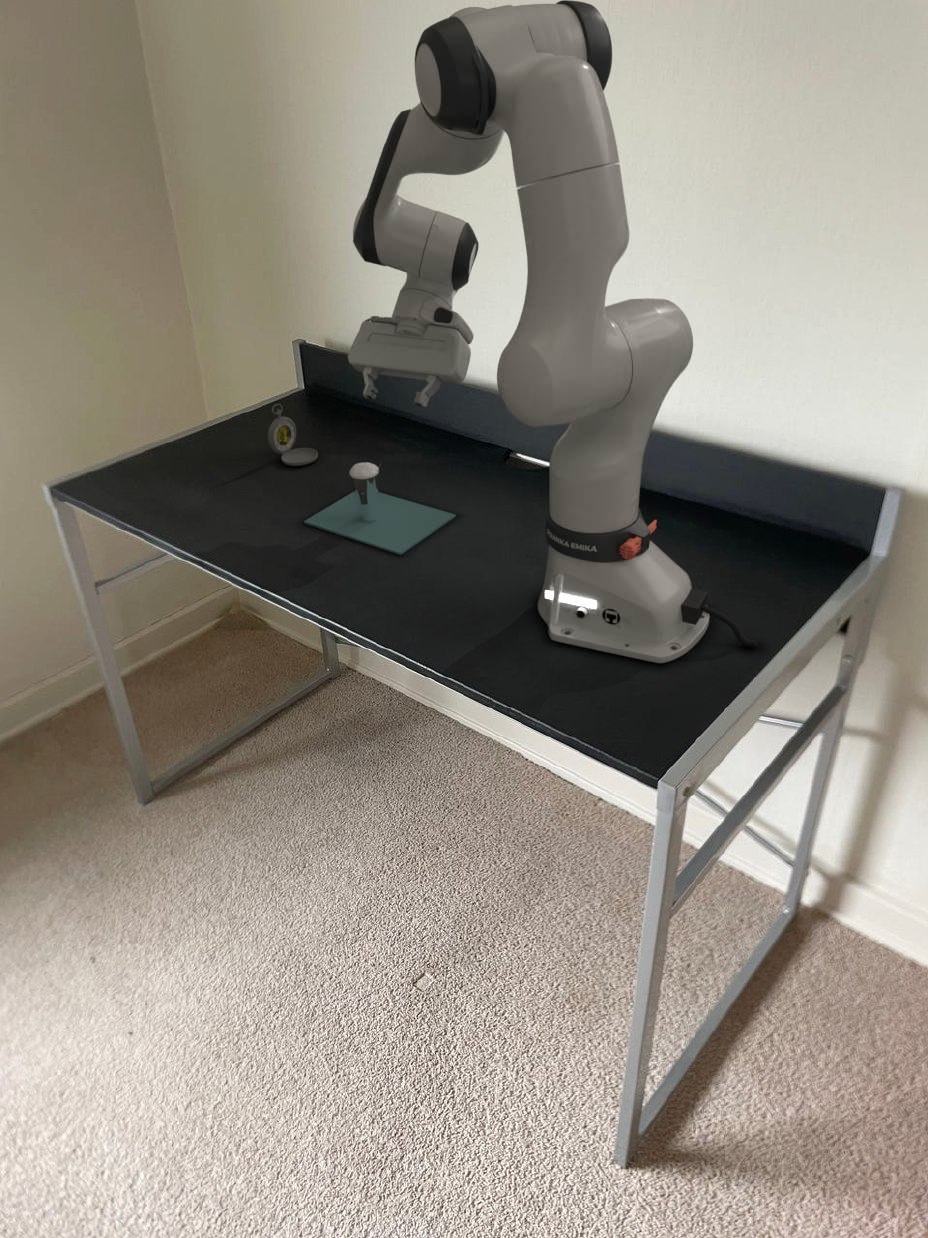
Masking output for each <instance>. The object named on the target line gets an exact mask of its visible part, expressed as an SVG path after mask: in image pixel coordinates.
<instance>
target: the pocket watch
mask: <svg viewBox="0 0 928 1238" xmlns="http://www.w3.org/2000/svg"><path fill="white" fill-rule="evenodd" d="M276 406H279V407H280V409H279V408H277V409H276V412H275V411H274V409H275V407H276ZM283 409H284V408H283V405H282V404H280V403H276V404H274V405H273V406H272V407H271V413H273V414H274V415H276V416H277V417H276V418H275V419H274V420H273V421H272V422H271V424H270V426H269V428H268V432H267V442H268V445H269V447H270V448H271V450H272V451H273V452H275V453H277V454H280V455H281V456H280V457H281V462H282V463H283V464H284V465H287V466H290V467H299V466H301V467H302V466H306V465H309V464H311V463H314V462H315V461H316V460H317V459H319V458H318V457H319V453H318V451H317V450H316V449H315V448H311V447H299V448H297V447H296V448H293V447H294V445H295V443H296V439H297V427H296V423H295V422H294V421H293V419H291V418H290V417H288V416H282V413H283ZM281 442H282V443H281ZM292 448H293V449H292Z"/></svg>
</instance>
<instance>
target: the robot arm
mask: <svg viewBox="0 0 928 1238" xmlns="http://www.w3.org/2000/svg"><path fill="white" fill-rule="evenodd" d="M612 64H613V43H612V38H611V34H610V30H609V27H608V25H607V23H606V21H605V19H604V18H603V15H602V14H601V12H600V10H598V9H597V8H596V6H594V5H593V4H591V3H588V2H585V1H584V2H583V1H579V0H560V1H557V2H555V3H532V4H531V3H530V4H520V5H512V4H505V5H500V6H496V7H495V6H494V7H491V8H486V7H481V6H468V7H465V8H464V7H463V8H462V9H461V8H460V9H459V10H457V11H455V12H453V13H452V14H451V15H450V16H449V17H446V18H444V19H442V20H439V21H436V22H435V23H433V24H431V25H430V26H428V27H426V28H425V29H424V30H423V32H421V35H420V36H419V40H418V43H417V45H416V48H415V53H414V77H415V78H414V79H415V85H416V90H417V94H418V97H419V100H420V101H419V103H418V104H417V105H416V106H413V108H409V109H406V110H402V111H400V112H399V114H398V115H397V116H396V117H395V119H394V121H393V123H392V124H391V127H390V130H389V132H388V134H387V137H386V140H385V143H384V145H383V147H382V150H381V152H380V156H379V158H378V162H377V164H376V168H375V170H374V174H373V176H372V180H371V183H370V186H369V188H368V192H367V195H366V197H365V199H364V200H363V202H362V203H361V205H360V207H359V209H358V210H357V214H356V216H355V219H354V222H353V228H352V243H353V245H354V247H355V249H356V251H357V253H358V254H359V255H360V257H361V258H362V260H363V261H364V262H365V263H369V264H374V265H378V266H381V267H388V268H391V269H394V270H397V271H400V272H404V273H406V278H405V282H404V283H403V286H402V287H401V288H400V290H399V292H398V296H397V299H396V303H395V305H394V308H393V311H392V314H391V317H390V316H379V315H371V316H370V317H369V318H367V319H365V320H362V322H361V324H360V327H359V329H358V332H357V334H356V335H355V337H354V339H353V342H352V344H351V347H350V348H349V351H348V354H347V360H348V363H349V365H350V366H351V367H352V368H353V369H354V370H356V371H357V372H358V373H362V375H363V381H364V386H365V387H364V389H363V392H362V395H363V397H364V398H365V399H369V400H376V399H377V395H378V393H379V389H378V388H376V386H375V384H374V381H376V380H377V378H378V377H379V376H378V375H381V376H388V377H395V378H404V379H410V380H418V381H426V383H427V384H426V386H425V387H424V388H423V389H422V390H421V391H417V390H416V393H415V397H414V399H413V401H414V405H416V406H417V407H424V408H426V407H428V404H429V400H430V398H432V396H434V395H435V394H436V393H437V392H438V391H439V390H440V389H441V388H440V387H441V384H450V385H459V384H461V383H462V382H464V380H466V377H467V374H468V370H469V366H470V361H471V356H472V349H471V346H470V345H471V344H472V342H473V340H474V336H475V334H474V332H473V330H472V329H471V327H470V325H468V322H467V321H466V320H465V319H464V317H462V315H460V314H459V313H458V312H457V311H454V310H453V305H454V304H453V302H454V298H455V296H456V294H457V293H458V292H459V290H460V289H462V288H463V287H465V286H466V285H467V284H468V283H469V280H470V276H471V272H472V269H473V266H474V264H475V262H476V261H475V260H476V258H477V256H478V252H479V247H480V246H479V244H480V243H479V240H478V238H477V235H476V233H475V231H474V229H473V228H472V226H471V225H470V223H469V222H467V221H466V220H463V219H461V218H459V217H456V216H454V215H451V214H448V213H445V212H442V211H439V210H436V209H432V208H430V207H426V206H424V205H421V204H418V203H415V202H411V201H409V200H406V199H404V198H403V197H401V196H399V194H398V193H399V190H400V187H401V185H402V182H403V180H404V178H405V177H407V176H411V175H417V174H418V175H419V174H431V175H432V174H433V175H444V176H461V175H466V174H470V173H472V172H474V171H477V170H478V169H480V168H482V167H484V166H485V165H486V164H488V163H490V161H491V160H492V159H493V158H494V157H495V155H496V154H497V152H498V150H499V148H500V146H501V144H502V141H503V138H504V136H505V133H506V135H507V137H508V140H509V141H508V142H509V145H510V151H511V160H512V169H513V175H514V182H515V187H516V193H517V198H518V204H519V205H518V206H519V211H520V217H521V224H522V229H523V236H524V243H525V250H526V262H527V263H526V265H527V268H526V269H527V275H526V287H525V288H526V289H525V293H524V294H525V295H524V300H523V305H522V310H521V314H520V317H519V321H518V322H517V325H516V328H515V329H514V332H513V334H512V336H511V338H510V339H509V341H508V343H507V345H506V346H505V347H504V348H503V350H502V352H501V354H500V357H499V359H498V364H497V368H496V369H497V370H496V385H497V389H498V393H499V397H500V399H501V401H502V404H503V405H504V407H505V409H506V410H507V411H508V413H510V415H511V416H512V417H513V418H514V419H516V420H517V421H518V422H519V423H521V424H523V425H524V426H526V427H531V428H540V427H553V426H561V425H568V424H569V426H568V427H567V429H566V431H564V433H563V434H562V435H561V436H560V438H559V439H558V440H557V441H556V443H555V445H554V447H553V449H552V451H551V453H550V456H549V462H548V464H549V465H548V466H549V467H548V468H549V477H548V479H549V486H548V487H549V490H548V491H549V492H548V494H549V500H548V501H549V507H548V508H547V510H546V514H545V539H546V543H547V546H548V549H547V550H548V551H547V562H546V569H545V574H544V580H543V584H542V588H541V592H540V594H539V598H538V600H537V611H538V614H539V615H540V617H541V619H542V620H543V621H544V622H545V623H546V625H547V631H548V632H547V633H548V636H549V638H550V640H552V641H553V642H558V643H563V644H566V645H571V646H576V647H580V648H585V649H591V650H595V651H599V652H604V653H609V654H613V655H617V656H623V657H628V658H632V659H636V660H640V661H646V662H651V663H656V664H665V663H668V662H671V661H674V660H676V659H678V658H680V657H682V656H684V655H685V654H686V653H688V652H689V651H691V650H692V649H693V648H694V647H695V646H696V645H697V644H698V643H699V642H700V640H702V638H703V636H704V635H705V633H706V631H707V630H708V627H709V624H710V616H711V617H713V618H716V619H718V620H719V621H721V622H723V623H724V624H725V625H727V626H728V627H730V629H731V630H732V632H733V634H734V636H735V637H736V639H737V640H738V642H740V644H742V645H744V646H747V647H752V648H757V647H758V644H759V641H758V640H752V639H748V638H747V637H746V636H744V635H743V633H742V631H741V629H740V627H739V626H738V624H737V623H736V622H735V621H733V619H731V618H730V617H728V615H725V614H724V613H722V612H720V611H718V610H715V609H714V608H712V607H710V606H708V605H707V599H708V591H706V590H700V589H696V588H693V586H692V581H691V579H690V576H689V574H688V573H687V572H686V571H685V570H684V569H683V568H682V567H680V565H678V564H677V563H676V562H675V561H674V560H673V559H671V557H669V556H668V555H667V554H666V553H665V552H664V551H663V550H662V549H661V548H659V546H658V545H656V544H655V543H654V542H653V541H652V540H651V534H652V533H654V531H655V530H656V529H657V522H658V520H657V519H653V521H652V522H650V524H647V523H646V522H645V519H644V516H643V514H642V511H641V509H640V508H639V505H640V491H641V481H642V471H643V462H644V456H645V452H646V447H647V445H648V442H649V438H650V435H651V433H652V429H653V427H654V424H655V421H656V419H657V417H658V414H659V412H660V409H661V407H662V405H663V403H664V402H665V399H666V398H667V395H668V393H669V392H670V389H671V388H672V387H673V385H674V383H675V382H676V381H677V380H678V378H679V377H680V376H681V375H682V373H683V372H684V371H685V370H686V369H687V367H688V365H689V363H690V361H691V359H692V355H693V351H694V336H693V330H692V327H691V324H690V322H689V319H688V317H687V316H686V314H685V312H684V311H683V310H682V309H681V308H680V307H679V306H678V305H677V304H676V303H674V302H673V301H671V300H669V299H666V298H653V297H652V298H649V297H647V298H645V297H644V298H643V297H642V298H628V299H626V300H622V301H618V302H615V303H612V304H609V305H606V296H607V290H608V285H609V282H610V278H611V275H612V273H613V270H614V268H615V267H616V265H617V264H618V263H619V261H620V260H621V259H622V258H623V256H624V254H625V253H626V252H627V249H628V245H629V243H630V234H631V233H630V226H629V218H628V212H627V206H626V198H625V191H624V184H623V177H622V170H621V169H622V168H621V164H620V155H619V150H618V144H617V139H616V134H615V129H614V125H613V121H612V117H611V113H610V109H609V106H608V103H607V99H606V96H605V92H604V91H605V89H606V88H607V84H608V81H609V78H610V75H611V71H612Z"/></svg>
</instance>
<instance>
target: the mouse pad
mask: <svg viewBox="0 0 928 1238" xmlns="http://www.w3.org/2000/svg"><path fill="white" fill-rule="evenodd" d="M379 506H380V518H379V519H377V520H376V521H372V522H364V521H362V520H361V519H360V515H359V511H358V506H357V502H356V497H355V493H354V491H352V492H351V493H349V494H347V495H345V496H344V497H343V498H340V499H339V500H337V501H335V502H334V503H332V504H331V505H328V506H327V507H326V508H323V509H322V510H320V511H319V512H317V513H315V514H313V515H312V516H311V517H309V518H307V519H305V520H304V521H303V523H304V524H305V525H307V526H311V527H314V528H317V529H320V530H323V531H326V532H329V533H333V534H335V535H338V536H341V537H345V538H347V539H351V540H353V541H356V542H359V543H363V544H366V545H369V546H371V547H375V548H377V549H380V550H384V551H387V552H389V553H393V554H396V555H398V556H402V555H403V554H405V553H406V552H408V551H409V550H411V549H412V548H413V547H415V546H417V545H418V544H419V543H421V542H422V541H423V540H424V539H426V538H428V537H429V536H430V535H432V534H433V533H435V532H436V531H437V530H439V529H440V528H442V527H443V526H445V525H446V524H448V523H449V522H451V521H452V520H453V519H454V518H456V516H457V515H456V514H455V513H453V512H452V513H451V512H448V511H444V510H441V509H437V508H434V507H431V506H428V505H423V504H421V503H417V502H414V501H410V500H407V499H403V498H400V497H398V496H397V497H396V496H392V495H389V494H386V493H383V492H380V491H379Z"/></svg>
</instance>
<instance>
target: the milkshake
mask: <svg viewBox="0 0 928 1238" xmlns="http://www.w3.org/2000/svg"><path fill="white" fill-rule="evenodd" d="M382 462H383V460H381V461H380V463H379V466H377V465H376V464H374V463H371V462H367V461H366V462H358V463H357V462H356V463H355V464H354V465H352V467H351V468H350V470H349V478H350V481H351V485H352V489H353V492H354V493H355V497H356V502H357V506H358V511H359V515H360V519H361V520H362V521H364V522H372V521H376V520H377V519H379V518H380V506H379V492H380V468H381V465H382Z"/></svg>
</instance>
